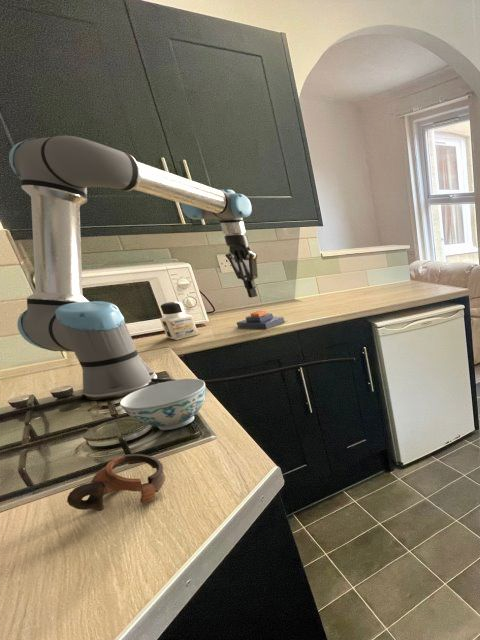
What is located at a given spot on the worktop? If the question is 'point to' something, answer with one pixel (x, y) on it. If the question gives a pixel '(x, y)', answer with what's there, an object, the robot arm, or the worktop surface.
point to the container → (177, 321)
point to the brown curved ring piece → (117, 483)
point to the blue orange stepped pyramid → (260, 322)
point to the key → (258, 313)
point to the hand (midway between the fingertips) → (253, 296)
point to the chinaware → (166, 403)
